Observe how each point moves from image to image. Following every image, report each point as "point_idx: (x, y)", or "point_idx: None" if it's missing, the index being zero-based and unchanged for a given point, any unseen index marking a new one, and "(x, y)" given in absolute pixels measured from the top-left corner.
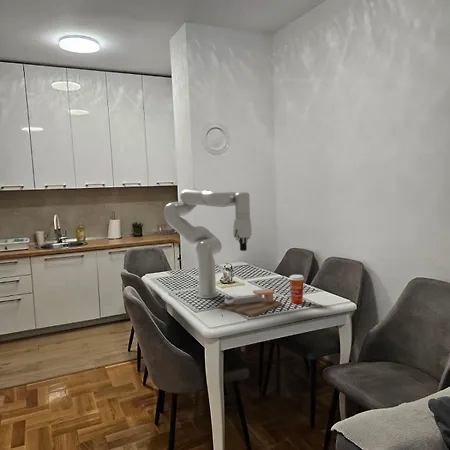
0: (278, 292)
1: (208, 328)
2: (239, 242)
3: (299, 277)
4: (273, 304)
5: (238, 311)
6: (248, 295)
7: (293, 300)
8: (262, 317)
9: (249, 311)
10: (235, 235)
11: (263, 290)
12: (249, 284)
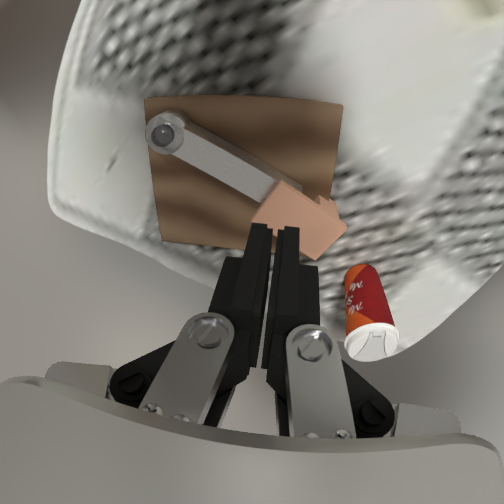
0: (450, 185)
1: (51, 200)
2: (187, 329)
3: (356, 359)
4: None
5: (154, 190)
6: (253, 169)
7: (345, 282)
8: (182, 257)
9: (174, 221)
10: (32, 430)
11: (307, 219)
12: (498, 35)
